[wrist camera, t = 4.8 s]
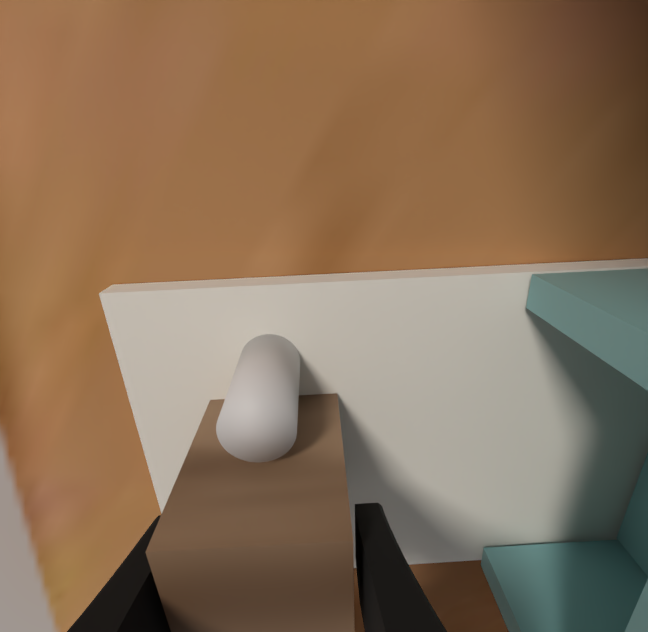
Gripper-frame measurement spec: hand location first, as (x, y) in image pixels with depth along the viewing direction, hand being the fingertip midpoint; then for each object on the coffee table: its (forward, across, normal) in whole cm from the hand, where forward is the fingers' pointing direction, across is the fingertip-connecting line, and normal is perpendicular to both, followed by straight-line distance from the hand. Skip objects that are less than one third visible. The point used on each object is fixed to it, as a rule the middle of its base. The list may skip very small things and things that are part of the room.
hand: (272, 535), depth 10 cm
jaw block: (+3, 0, 0) cm, 3 cm away
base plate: (+4, -4, 0) cm, 6 cm away
